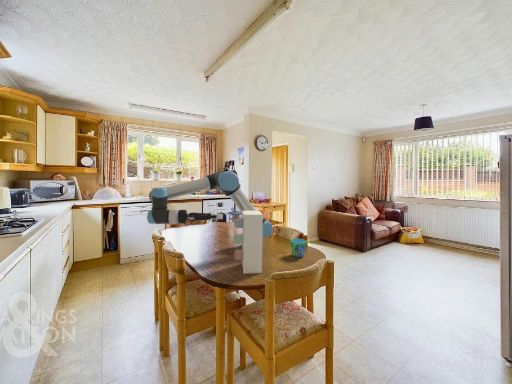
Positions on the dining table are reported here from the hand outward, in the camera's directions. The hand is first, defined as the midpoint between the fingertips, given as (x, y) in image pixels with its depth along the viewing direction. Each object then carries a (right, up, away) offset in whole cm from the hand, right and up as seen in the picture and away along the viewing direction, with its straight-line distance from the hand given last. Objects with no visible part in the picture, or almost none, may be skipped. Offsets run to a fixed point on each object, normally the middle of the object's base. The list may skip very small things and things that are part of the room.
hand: (222, 216), depth 124 cm
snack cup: (+46, -29, +25) cm, 60 cm away
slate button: (+9, -6, +1) cm, 11 cm away
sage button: (+9, -15, +2) cm, 18 cm away
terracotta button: (+9, -24, +3) cm, 26 cm away
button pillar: (+16, -30, +4) cm, 34 cm away
